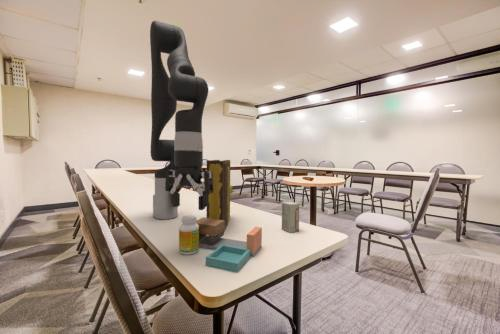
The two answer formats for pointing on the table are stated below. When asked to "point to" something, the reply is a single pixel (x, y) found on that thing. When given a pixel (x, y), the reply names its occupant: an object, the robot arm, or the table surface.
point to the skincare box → (290, 216)
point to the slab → (211, 229)
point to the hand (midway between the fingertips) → (188, 208)
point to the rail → (252, 241)
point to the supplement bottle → (188, 235)
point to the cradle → (228, 257)
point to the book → (219, 191)
